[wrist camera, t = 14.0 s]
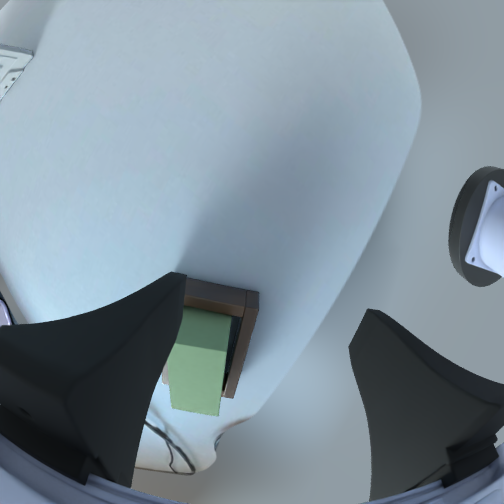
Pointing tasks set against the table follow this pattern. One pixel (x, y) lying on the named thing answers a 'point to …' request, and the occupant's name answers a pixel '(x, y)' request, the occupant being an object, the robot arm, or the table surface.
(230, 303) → the mounting base
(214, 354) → the block
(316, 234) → the table surface
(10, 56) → the cassette
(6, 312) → the mobile phone
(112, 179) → the table surface
